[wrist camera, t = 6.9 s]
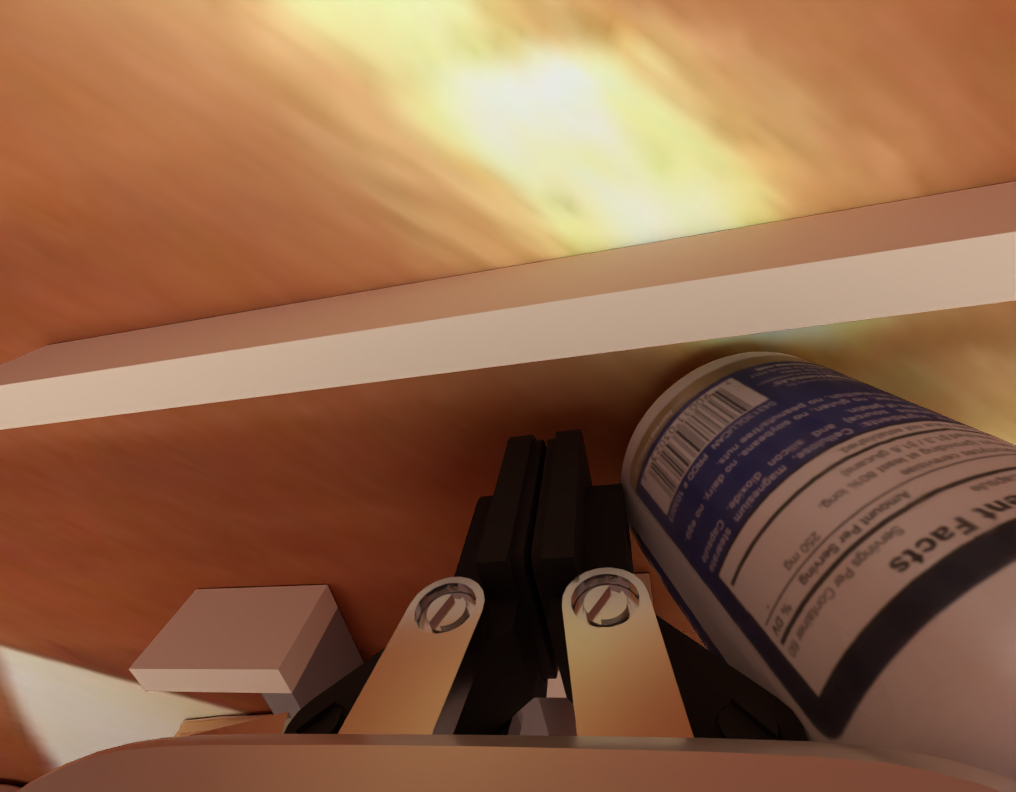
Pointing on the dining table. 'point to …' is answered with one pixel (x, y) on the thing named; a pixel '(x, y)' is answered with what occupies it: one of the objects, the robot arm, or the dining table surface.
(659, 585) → the dining table surface
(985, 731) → the pill bottle
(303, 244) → the dining table surface
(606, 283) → the trap channel
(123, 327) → the dining table surface
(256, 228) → the dining table surface
